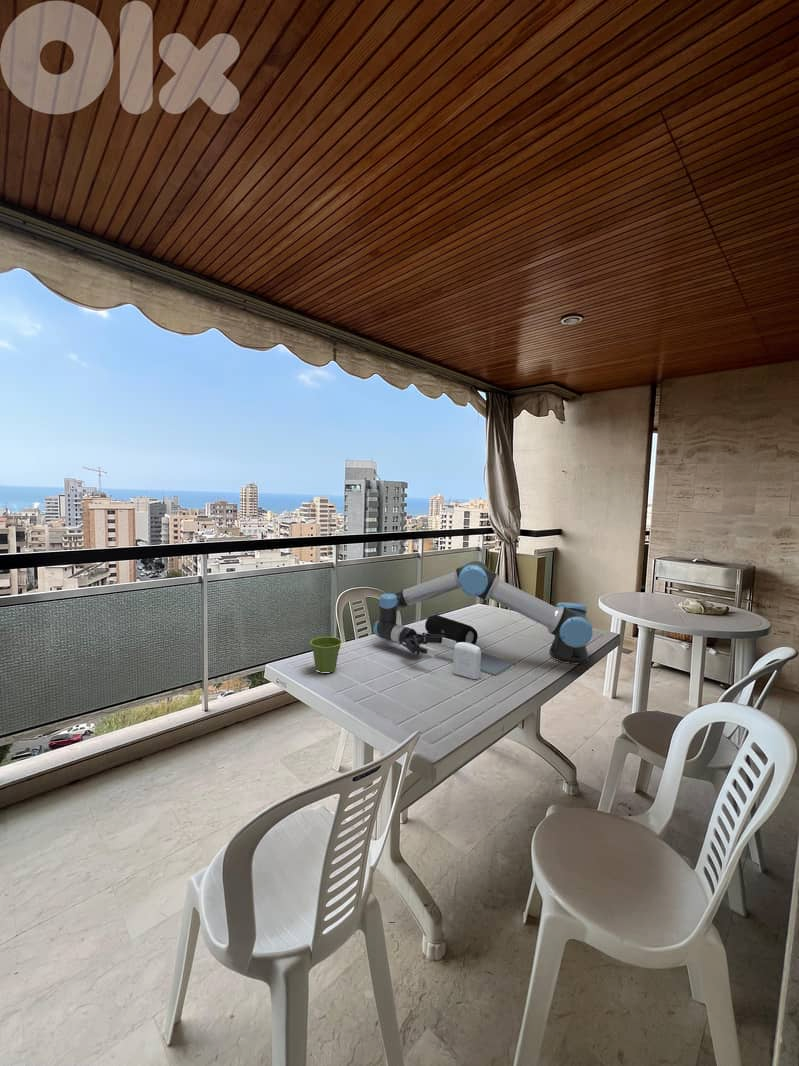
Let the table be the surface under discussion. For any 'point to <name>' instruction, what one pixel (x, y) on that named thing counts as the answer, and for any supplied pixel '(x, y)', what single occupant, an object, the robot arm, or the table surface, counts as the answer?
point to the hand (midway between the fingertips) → (445, 649)
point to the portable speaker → (451, 629)
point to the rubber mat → (494, 664)
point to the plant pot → (325, 652)
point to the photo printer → (467, 660)
